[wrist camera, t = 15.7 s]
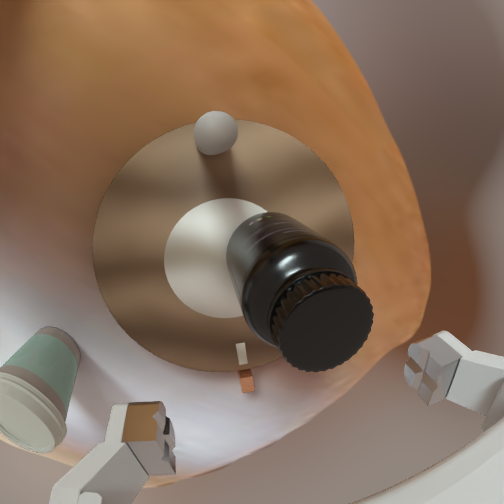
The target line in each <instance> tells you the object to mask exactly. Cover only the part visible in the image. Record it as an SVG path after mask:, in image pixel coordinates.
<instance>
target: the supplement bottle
mask: <svg viewBox="0 0 504 504" xmlns="http://www.w3.org/2000/svg"><path fill="white" fill-rule="evenodd" d="M226 263H227V268H228V271H229V275H230V278H231V281H232V284H233V287H234V290H235V293H236V296H237V299H238V302H239V305H240V308H241V310H242V313H243V316H244V319H245V321H246V323H247V325H248V326H249V328H250V329H251V331H252V332H253V333H254V334H255V335H256V336H257V337H258V338H259V339H261V340H262V341H263V342H265V343H267V344H269V345H271V346H274V347H276V348H278V349H279V351H280V353H281V355H282V356H283V357H284V359H285V360H286V361H287V362H288V363H290V364H291V365H292V366H293V367H297V368H298V369H299V370H305V371H307V372H310V371H313V372H318V371H325V370H328V369H333V368H334V367H336V366H338V365H341V364H343V363H344V362H345V361H347V360H349V359H350V358H351V357H352V356H353V355H355V354H356V353H357V351H358V350H359V349H360V348H361V347H362V346H363V343H364V342H365V341H366V340H367V337H368V334H369V333H370V331H371V326H372V324H373V315H374V314H373V312H372V309H373V306H372V305H371V304H370V299H369V298H368V297H367V296H366V294H365V292H364V291H363V290H362V289H361V288H360V287H358V286H357V276H356V272H355V269H354V266H353V264H352V262H351V260H350V259H349V257H348V256H347V255H346V254H345V252H344V251H343V250H342V249H340V248H339V247H338V246H337V245H335V244H334V243H333V242H331V241H329V240H328V239H326V238H325V237H323V236H322V235H320V234H318V233H317V232H315V231H314V230H312V229H310V228H309V227H307V226H306V225H304V224H302V223H301V222H299V221H297V220H296V219H294V218H292V217H290V216H288V215H285V214H282V213H278V212H264V213H260V214H257V215H254V216H252V217H250V218H248V219H247V220H245V221H244V222H242V223H241V224H240V225H239V226H238V227H237V228H236V230H235V231H234V232H233V234H232V236H231V238H230V240H229V242H228V245H227V250H226Z"/></svg>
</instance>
